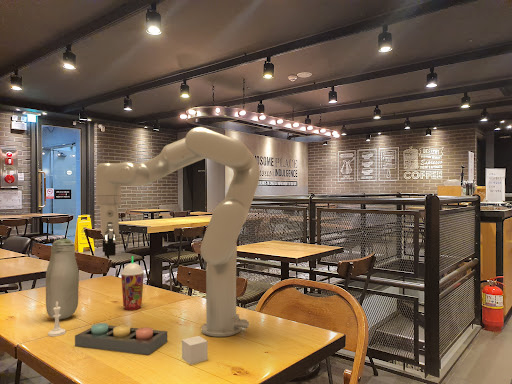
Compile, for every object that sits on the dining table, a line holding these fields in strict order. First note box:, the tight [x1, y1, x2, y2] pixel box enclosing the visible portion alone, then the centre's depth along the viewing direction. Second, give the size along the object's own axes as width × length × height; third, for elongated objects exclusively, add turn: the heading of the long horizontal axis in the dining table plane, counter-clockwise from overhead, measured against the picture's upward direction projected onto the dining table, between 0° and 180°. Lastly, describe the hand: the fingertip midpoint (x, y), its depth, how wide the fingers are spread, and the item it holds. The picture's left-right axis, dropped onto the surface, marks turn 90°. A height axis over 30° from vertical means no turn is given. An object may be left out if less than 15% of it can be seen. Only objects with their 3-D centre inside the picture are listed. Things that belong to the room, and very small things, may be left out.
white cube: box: [181, 335, 209, 366], centre depth 99 cm, size 5×5×5 cm
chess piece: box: [47, 301, 66, 337], centre depth 119 cm, size 5×5×10 cm
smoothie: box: [120, 255, 145, 311], centre depth 146 cm, size 8×8×20 cm
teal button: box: [90, 322, 109, 336], centre depth 112 cm, size 5×5×3 cm
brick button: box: [136, 326, 154, 341], centre depth 108 cm, size 5×5×3 cm
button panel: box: [74, 324, 168, 356], centre depth 110 cm, size 24×10×3 cm, turn 74°
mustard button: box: [113, 324, 131, 338], centre depth 110 cm, size 5×5×3 cm
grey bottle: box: [45, 238, 80, 321], centre depth 134 cm, size 10×10×28 cm
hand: (108, 253), depth 123 cm, fingers open, 9 cm apart
